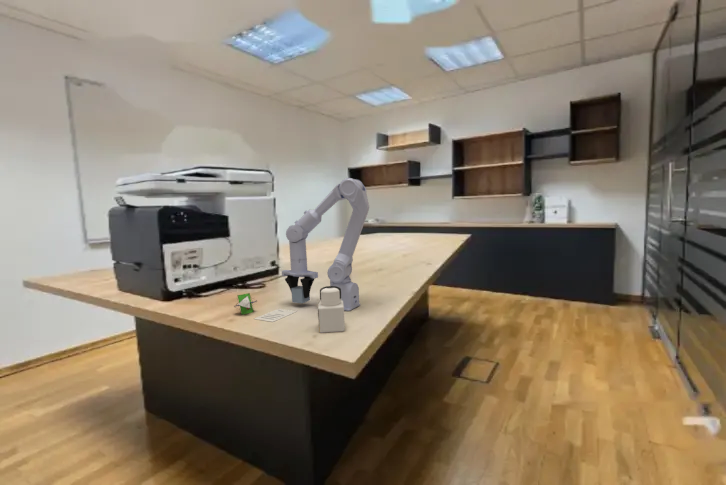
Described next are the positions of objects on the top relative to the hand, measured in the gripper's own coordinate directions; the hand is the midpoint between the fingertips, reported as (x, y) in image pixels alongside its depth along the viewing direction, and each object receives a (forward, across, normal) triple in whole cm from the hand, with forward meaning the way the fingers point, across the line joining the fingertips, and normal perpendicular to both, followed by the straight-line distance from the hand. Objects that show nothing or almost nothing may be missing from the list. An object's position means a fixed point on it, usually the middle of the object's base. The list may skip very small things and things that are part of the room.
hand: (300, 297), depth 130 cm
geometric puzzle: (+3, -12, -14) cm, 19 cm away
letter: (+3, -1, -12) cm, 13 cm away
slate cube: (+2, 0, 0) cm, 2 cm away
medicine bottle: (+3, +23, -16) cm, 28 cm away
